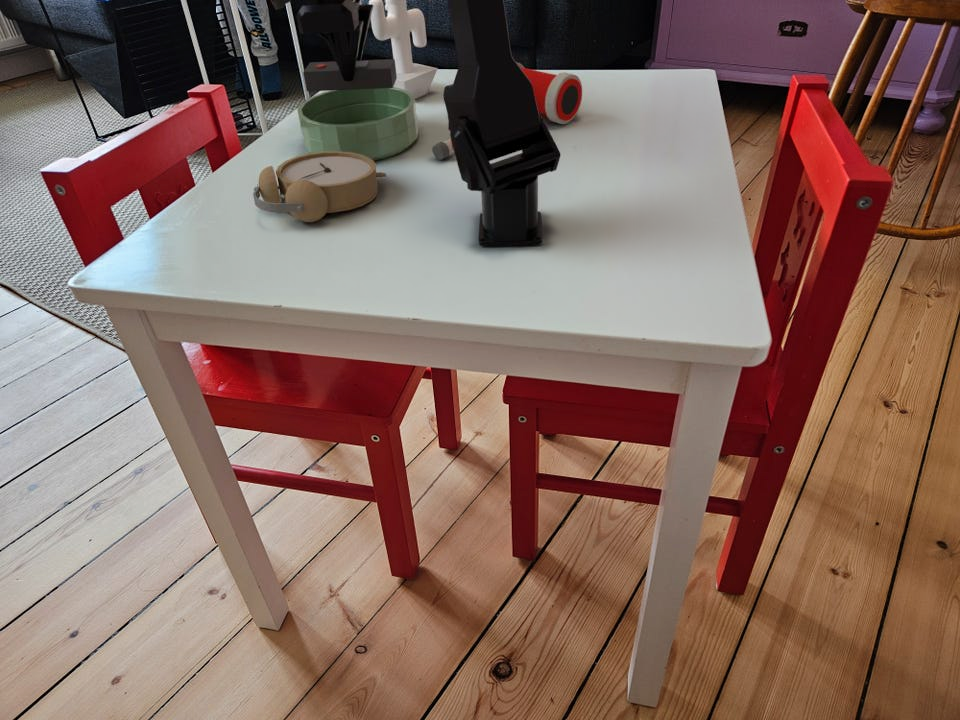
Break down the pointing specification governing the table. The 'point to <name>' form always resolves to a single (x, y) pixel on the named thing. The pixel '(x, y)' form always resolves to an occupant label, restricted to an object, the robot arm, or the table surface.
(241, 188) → the table surface
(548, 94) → the toy hammer
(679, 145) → the table surface
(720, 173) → the table surface
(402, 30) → the figurine
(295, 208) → the alarm clock
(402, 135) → the bowl
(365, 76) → the remote
